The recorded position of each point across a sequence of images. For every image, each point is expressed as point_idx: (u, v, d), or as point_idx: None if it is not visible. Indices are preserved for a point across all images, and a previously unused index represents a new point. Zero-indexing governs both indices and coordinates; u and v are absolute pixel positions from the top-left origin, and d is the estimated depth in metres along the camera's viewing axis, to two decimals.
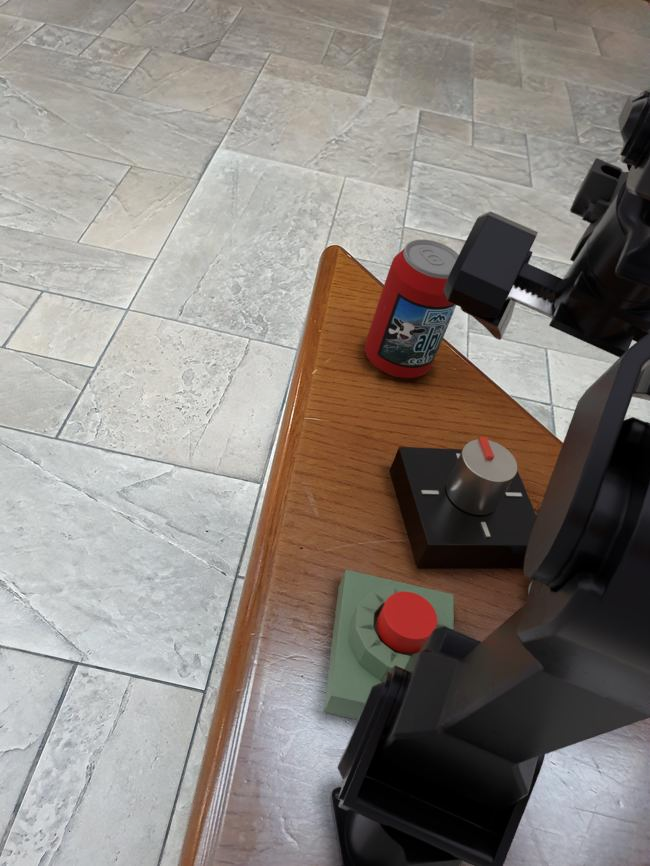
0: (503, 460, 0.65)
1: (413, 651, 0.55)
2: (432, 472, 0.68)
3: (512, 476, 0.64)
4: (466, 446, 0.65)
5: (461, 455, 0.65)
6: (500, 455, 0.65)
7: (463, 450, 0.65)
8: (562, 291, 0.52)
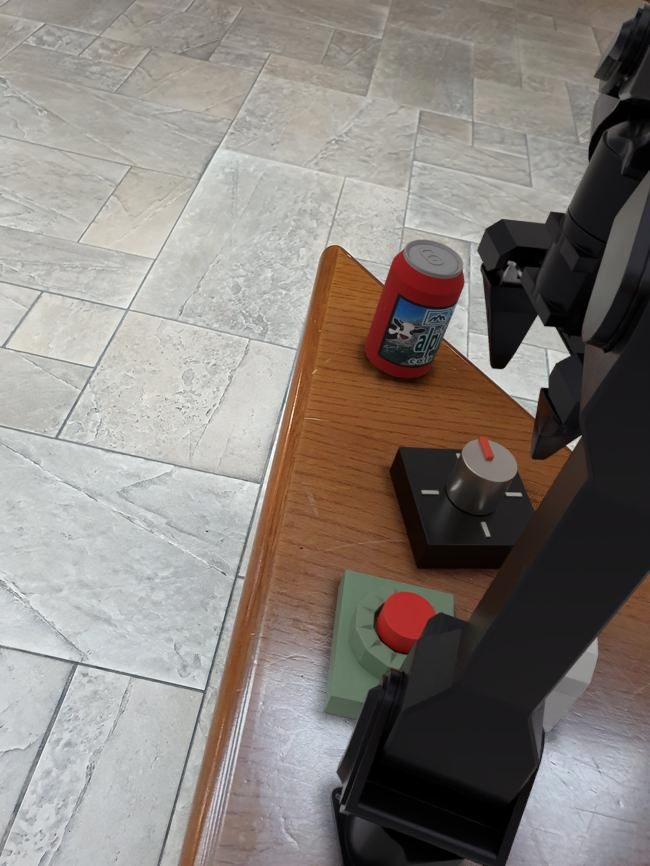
0: (503, 460, 0.65)
1: None
2: (432, 472, 0.68)
3: (512, 476, 0.64)
4: (466, 446, 0.65)
5: (461, 455, 0.65)
6: (500, 455, 0.65)
7: (463, 450, 0.65)
8: None
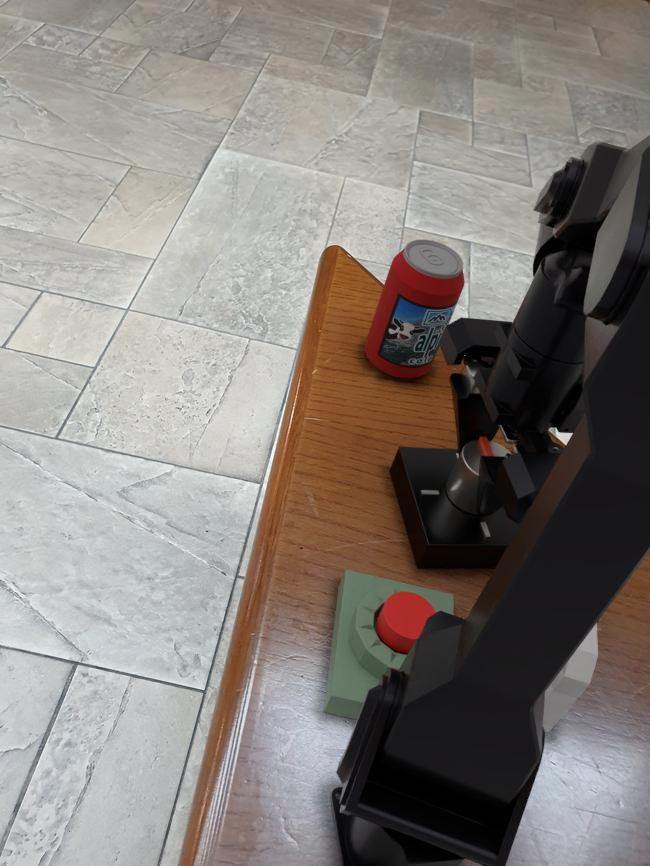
0: None
1: None
2: (432, 472, 0.68)
3: None
4: (466, 446, 0.65)
5: (461, 455, 0.65)
6: (500, 455, 0.65)
7: (463, 450, 0.65)
8: None
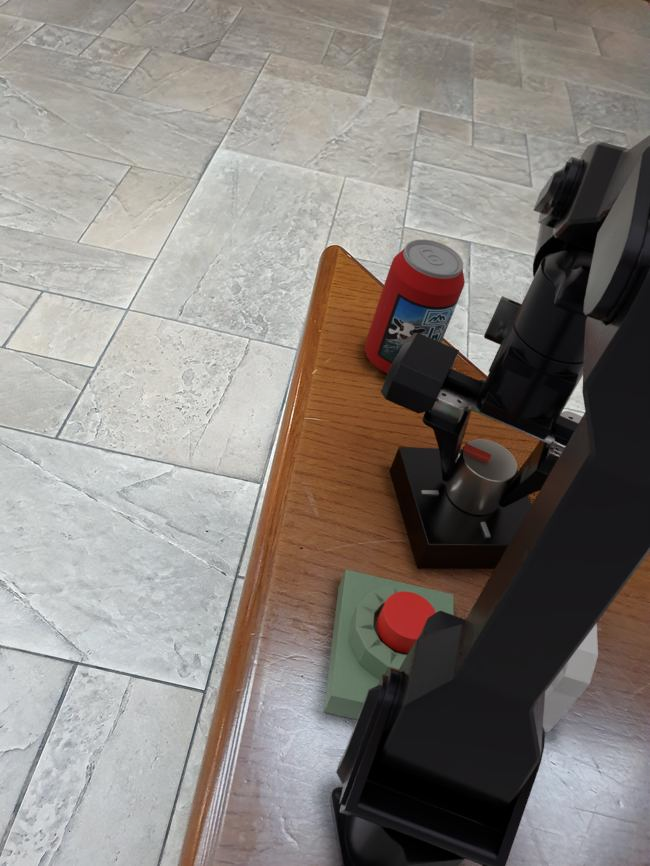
0: (493, 451, 0.66)
1: None
2: (432, 472, 0.68)
3: (514, 458, 0.66)
4: (469, 465, 0.64)
5: (475, 475, 0.64)
6: (487, 448, 0.66)
7: (473, 470, 0.64)
8: (489, 381, 0.59)
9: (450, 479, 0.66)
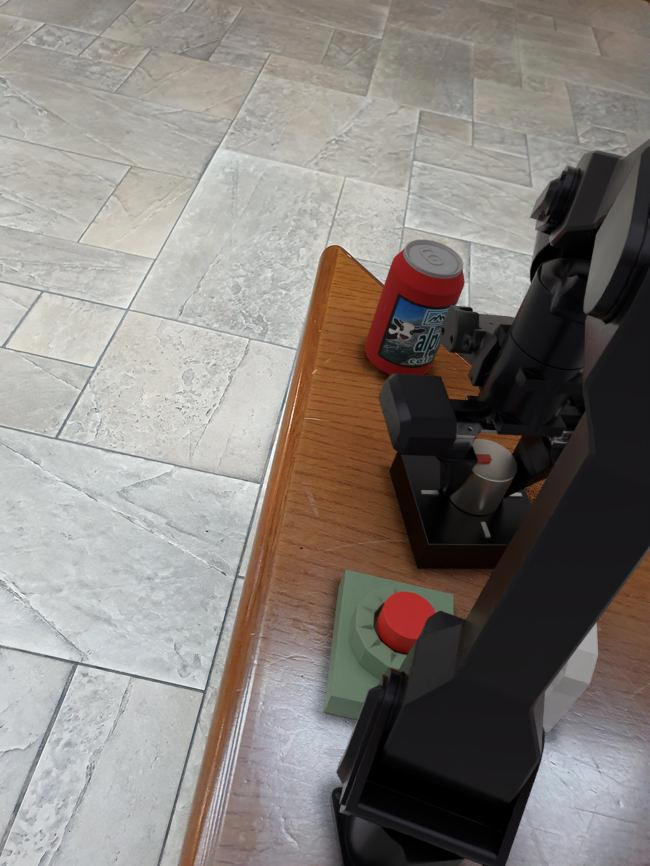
0: (486, 449, 0.66)
1: None
2: (432, 472, 0.68)
3: None
4: (480, 474, 0.63)
5: (491, 482, 0.63)
6: (480, 449, 0.65)
7: (487, 478, 0.63)
8: (495, 402, 0.59)
9: (455, 491, 0.66)
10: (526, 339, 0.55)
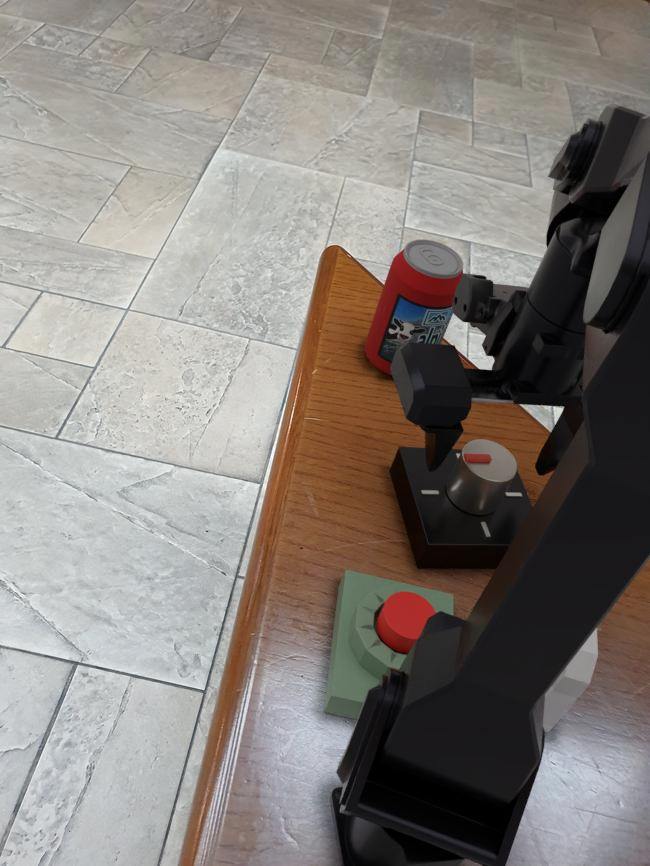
0: (486, 449, 0.66)
1: None
2: (432, 472, 0.68)
3: None
4: (480, 474, 0.63)
5: (491, 482, 0.63)
6: (480, 449, 0.65)
7: (487, 478, 0.63)
8: (511, 370, 0.57)
9: (455, 491, 0.66)
10: (544, 302, 0.53)
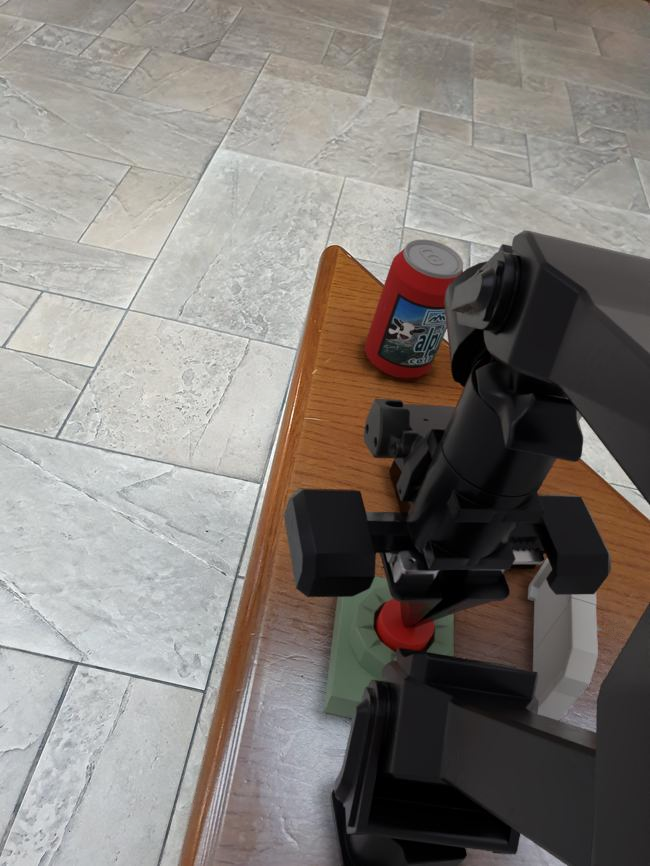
0: None
1: None
2: None
3: None
4: None
5: None
6: None
7: None
8: (425, 528, 0.47)
9: None
10: (468, 466, 0.42)
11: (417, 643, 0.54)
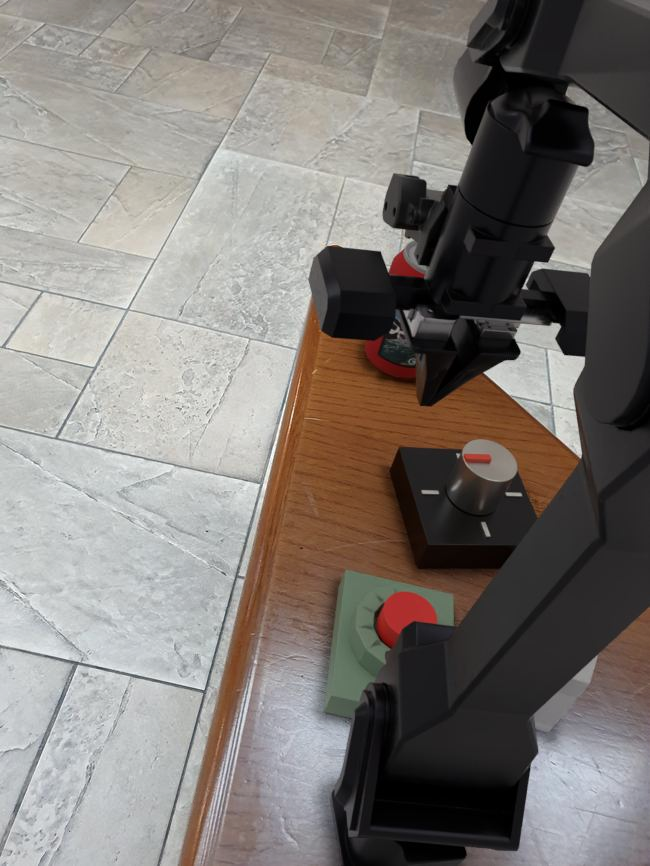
0: (486, 449, 0.66)
1: None
2: (432, 472, 0.68)
3: None
4: (480, 474, 0.63)
5: (491, 482, 0.63)
6: (480, 449, 0.65)
7: (487, 478, 0.63)
8: (442, 276, 0.50)
9: (455, 491, 0.66)
10: (485, 197, 0.45)
11: None
